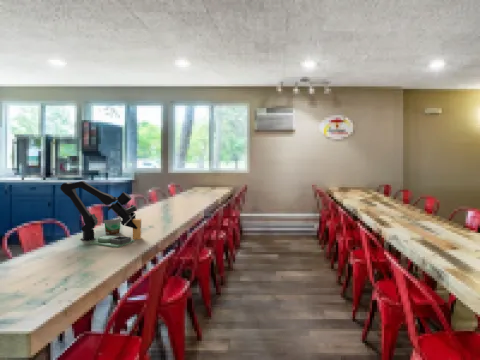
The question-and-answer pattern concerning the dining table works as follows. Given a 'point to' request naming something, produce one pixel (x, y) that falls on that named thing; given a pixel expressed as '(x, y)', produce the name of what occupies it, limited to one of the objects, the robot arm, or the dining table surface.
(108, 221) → the food container
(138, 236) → the chute block
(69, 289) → the dining table surface
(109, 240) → the green domed base plate
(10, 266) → the dining table surface
